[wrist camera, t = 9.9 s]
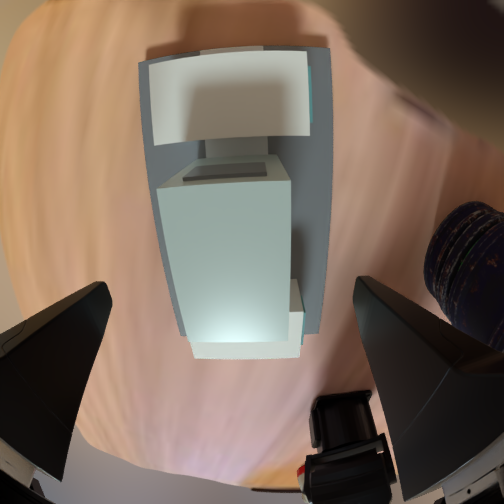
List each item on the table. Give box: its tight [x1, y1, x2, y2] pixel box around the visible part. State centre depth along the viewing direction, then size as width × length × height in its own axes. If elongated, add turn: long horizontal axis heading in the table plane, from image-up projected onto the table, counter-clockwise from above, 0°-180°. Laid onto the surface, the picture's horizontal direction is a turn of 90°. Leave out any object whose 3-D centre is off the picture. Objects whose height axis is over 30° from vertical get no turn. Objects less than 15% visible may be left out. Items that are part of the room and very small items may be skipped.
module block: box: [156, 154, 291, 342], centre depth 14 cm, size 4×7×7 cm, turn 3°
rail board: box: [138, 46, 333, 359], centre depth 16 cm, size 11×20×4 cm, turn 3°
